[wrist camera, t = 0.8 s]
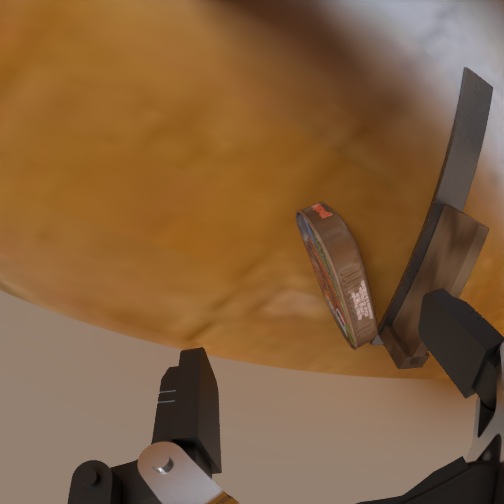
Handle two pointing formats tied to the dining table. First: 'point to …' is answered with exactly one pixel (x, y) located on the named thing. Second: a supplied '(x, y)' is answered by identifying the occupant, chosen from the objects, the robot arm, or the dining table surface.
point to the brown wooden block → (435, 282)
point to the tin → (339, 272)
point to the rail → (449, 178)
